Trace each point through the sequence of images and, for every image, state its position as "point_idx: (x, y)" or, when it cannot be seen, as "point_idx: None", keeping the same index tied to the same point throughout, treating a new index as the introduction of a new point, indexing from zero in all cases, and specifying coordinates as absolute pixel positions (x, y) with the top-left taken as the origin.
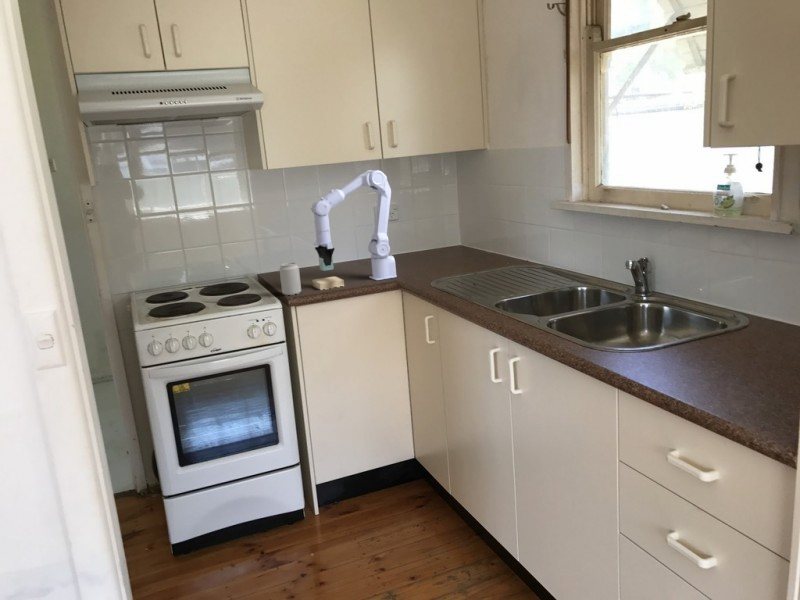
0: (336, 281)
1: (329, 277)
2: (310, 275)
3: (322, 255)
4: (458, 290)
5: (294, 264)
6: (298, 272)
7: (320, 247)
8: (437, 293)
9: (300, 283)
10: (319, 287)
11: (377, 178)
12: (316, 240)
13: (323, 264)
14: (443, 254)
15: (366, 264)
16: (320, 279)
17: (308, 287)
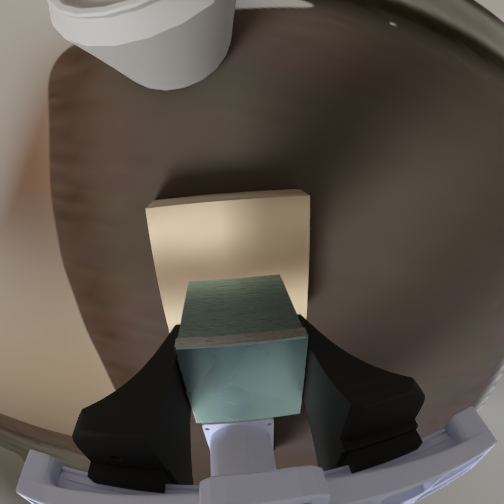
0: (163, 306)
1: (298, 300)
2: (488, 247)
3: (310, 379)
4: (27, 446)
5: (49, 3)
6: (92, 53)
7: (341, 445)
8: (9, 422)
9: (146, 80)
10: (165, 201)
11: None
12: (490, 447)
13: (184, 316)
14: None
15: (446, 404)
16: (283, 243)
17: (279, 157)
